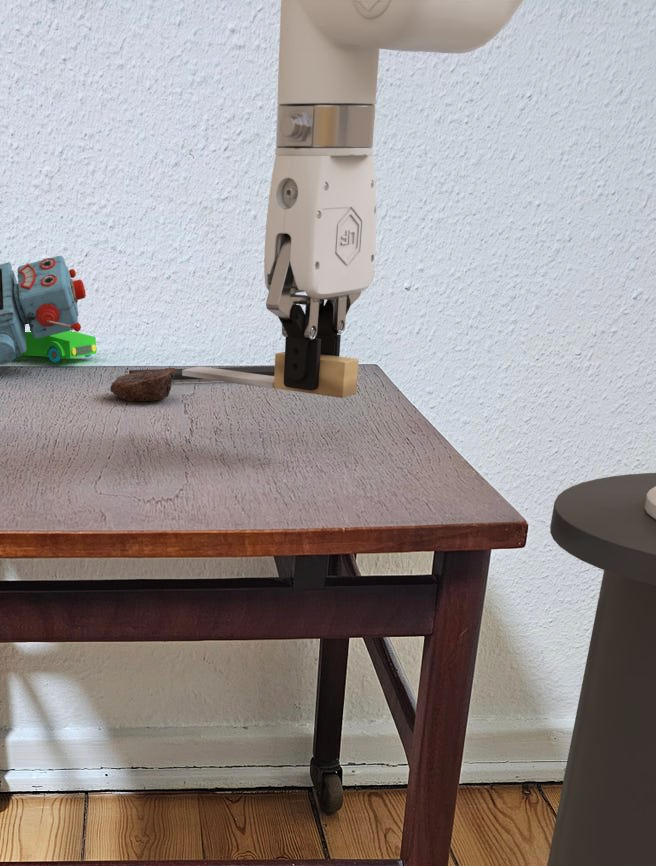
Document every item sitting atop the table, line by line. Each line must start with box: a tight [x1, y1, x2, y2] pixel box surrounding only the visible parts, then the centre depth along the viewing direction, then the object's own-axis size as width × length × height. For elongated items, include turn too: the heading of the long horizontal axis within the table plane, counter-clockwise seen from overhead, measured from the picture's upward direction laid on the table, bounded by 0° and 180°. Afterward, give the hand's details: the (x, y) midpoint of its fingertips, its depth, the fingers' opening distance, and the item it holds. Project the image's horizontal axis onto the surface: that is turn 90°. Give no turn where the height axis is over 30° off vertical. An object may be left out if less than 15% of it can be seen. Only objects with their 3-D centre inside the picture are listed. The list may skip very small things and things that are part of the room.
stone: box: [109, 367, 177, 402], centre depth 126 cm, size 7×7×3 cm
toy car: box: [13, 330, 98, 363], centre depth 147 cm, size 11×7×7 cm, turn 58°
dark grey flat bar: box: [128, 365, 275, 385], centre depth 138 cm, size 18×1×5 cm
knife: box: [182, 351, 360, 399], centre depth 103 cm, size 17×3×3 cm, turn 51°
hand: (310, 383), depth 101 cm, fingers closed on knife, 2 cm apart
